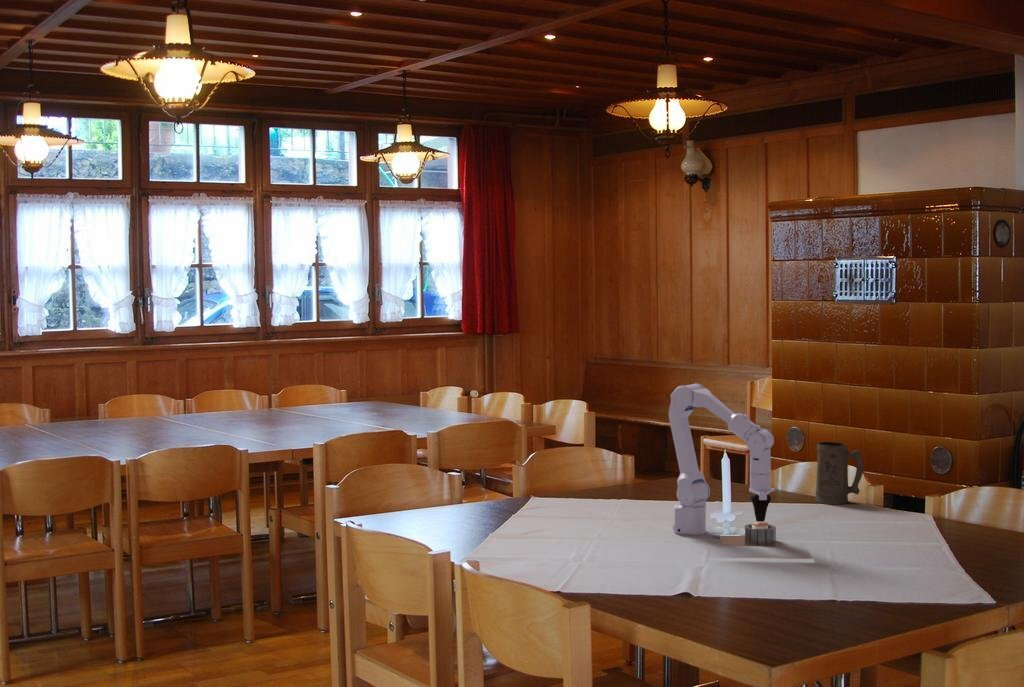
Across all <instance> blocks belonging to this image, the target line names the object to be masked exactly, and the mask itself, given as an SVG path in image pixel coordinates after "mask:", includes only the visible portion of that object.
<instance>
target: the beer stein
mask: <svg viewBox="0 0 1024 687" xmlns="http://www.w3.org/2000/svg"><path fill="white" fill-rule="evenodd" d="M816 452H817V456H816V457H817V458H816V459H817V462H816V463H817V465H816V482H815V483H816V486H815V497H814V501H815V502H816V503H819V504H825V505H844V504H848V503H849V498H848V497H849V496H848V495H849V494H855V495H859V494H860V492H861V490H860V488H859V483H860V481H861V480H862V476H863V473H864V463H863V459H862V457H861V450H860V449H859V450H858V449H855V450H853V451H849V449H848V445H847V443H844V442H836V441H835V442H834V441H820V442H818V443H817V445H816ZM851 458H852V459H854V461H855V462H856V472H855V476H854V479H853V482H852V484H851V486H849V477H848V476H849V475H848V474H849V472H848V468H849V467H848V459H851Z"/></svg>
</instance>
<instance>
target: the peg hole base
mask: <svg viewBox="0 0 1024 687" xmlns="http://www.w3.org/2000/svg"><path fill="white" fill-rule="evenodd" d="M776 536H777V528H776V526H775V525H772V524H769V523H768V529H754V528H752V523H749V524H746V525H744V535H740V536H720V534H718V538H719V540H720V543H721V546H724V547H725V546H726V547H728V546H729V547H736V546H737V547H778V545H777V543H776V541H777V537H776Z"/></svg>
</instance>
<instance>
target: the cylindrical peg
mask: <svg viewBox="0 0 1024 687" xmlns="http://www.w3.org/2000/svg"><path fill="white" fill-rule="evenodd" d="M751 524H752V528H754V529H768V524H769V522H766V521H764V522H757V521H753V522H751Z"/></svg>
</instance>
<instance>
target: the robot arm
mask: <svg viewBox="0 0 1024 687" xmlns="http://www.w3.org/2000/svg"><path fill="white" fill-rule="evenodd" d="M669 396H670V400H671V401H670V404H669V408H668V414H667V415H668V419H669V421H668V422H669V425H670V429H671V430H670V431H671V434H672V435H671V436H672V439H673V443H674V449H675V455H676V459H677V464H678V469H679V476H678V478H677V481H676V484H677V489H676V498H677V500H678V502H679V503H680V504H674V506H673V524H672V530H673V531H674V534H675V535H703V534H706V532H707V500H708V498H709V497H710V495H711V488H710V486H709V484H708V483H707V481H706V479H705V475H704V474H703V472H701V470H699V464H698V461H697V455H696V450H695V446H694V440H693V436H692V431H691V426H690V422H689V416H690V415H691V414H692V413H693V411H694V410H695V409H696V408H706V410H708V411H710V412H711V413H712V414H714V415H715V416H716V417H718V418H719V419H721V420H723V421H724V422H725V423H726V424H727V428H728V430H729V431H730V432H732V433H733V434H734V435H735V436H737V437H738V438H739V439H741V440H742V441H743V442H744V443H745V444H746V447H747V449H748V451H749V488H748V491H749V492H750V493H751V494H750V495H749V498H750V500H751V503H752V506H753V512H754V517H755V520H756V521H755V522H765V520H766V516H767V510H768V506H769V504H770V503H771V500H772V498H771V495H770V493H773V492H775V491H776V489H775V488H773V487H771V485H772V484H771V483H772V482H771V479H772V478H771V477H772V476H771V475H772V472H771V471H772V469H771V465H772V463H771V461H772V460H771V459H772V458H771V453H772V452H771V450H772V449H771V448H773V446H774V443H775V438H774V435H773V434H772V432H771V431H770V430H769V429H766V428H762V427H761V426H760V424H756V423H754V422H753V421H752V420H751V419H749V416H748V415H747V414H746V413H741V412H738V413H735V412H734V411H732V410H731V409H729V407H727V405H725V404H724V403H723V402H722V401H721V400H719V399H718V398H717V397H716V396H715V395H713V393H712V392H711V391H710V389H708V388H707V387H704V386H703V385H702V384H700V383H697V382H695V383H692V384H686V385H685V384H683V385H679V386H677V387H676V388H675V389H674V390H673V392H671V393H670V395H669ZM752 493H753V494H752Z"/></svg>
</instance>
